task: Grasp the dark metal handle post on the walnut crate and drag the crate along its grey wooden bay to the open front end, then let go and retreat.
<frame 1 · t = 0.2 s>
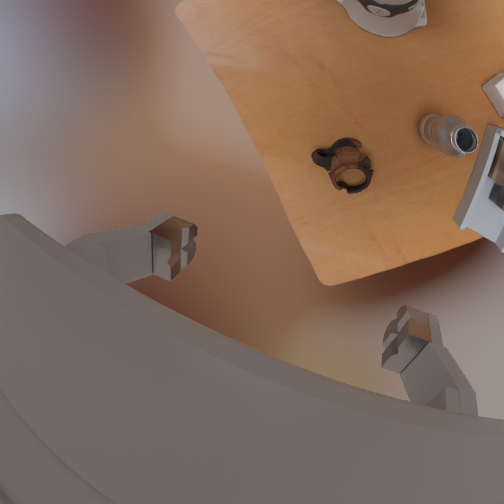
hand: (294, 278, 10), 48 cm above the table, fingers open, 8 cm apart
medicine bottle: (499, 94, 29), on the table
bay: (495, 186, 38), on the table
broken clay pot: (344, 160, 51), on the table
plastic bottle: (431, 129, 40), on the table
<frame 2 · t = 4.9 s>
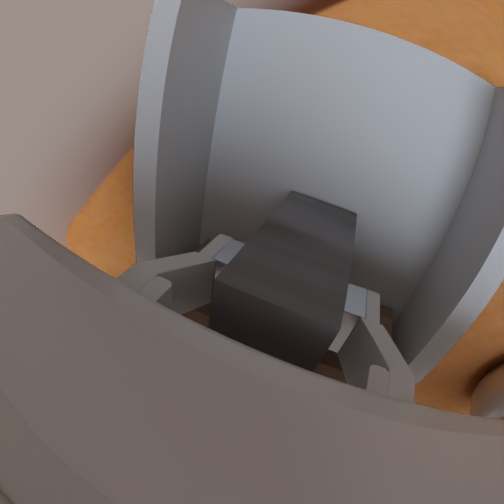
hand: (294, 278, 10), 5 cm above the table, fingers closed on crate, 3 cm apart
crate: (268, 348, 12), point 5 cm above the table, slide at 0.0 cm, touching gripper
bay: (310, 246, 14), on the table
plastic bottle: (502, 373, 13), on the table
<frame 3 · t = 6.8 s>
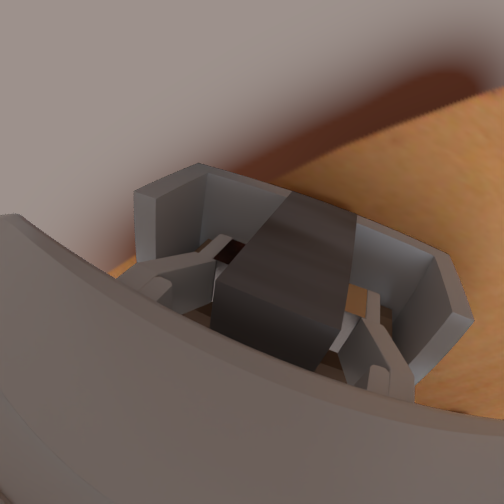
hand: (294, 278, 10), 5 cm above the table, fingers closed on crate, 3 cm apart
crate: (268, 348, 12), point 5 cm above the table, slide at 8.5 cm, touching gripper
bay: (272, 345, 19), on the table
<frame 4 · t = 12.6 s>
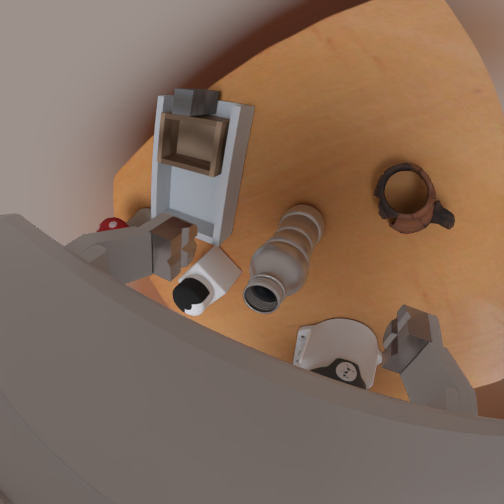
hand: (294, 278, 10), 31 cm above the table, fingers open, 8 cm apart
medicine bottle: (219, 266, 53), on the table
crate: (192, 129, 37), point 5 cm above the table, slide at 9.5 cm
bay: (203, 163, 44), on the table
decorative mushroom: (150, 217, 55), on the table
broken clay pot: (411, 198, 34), on the table
plastic bottle: (305, 219, 42), on the table
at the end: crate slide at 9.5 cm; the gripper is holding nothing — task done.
